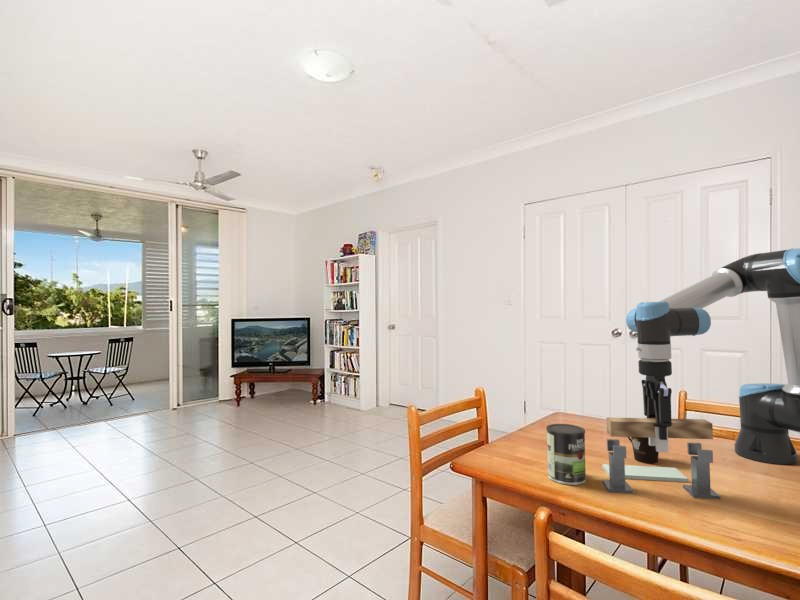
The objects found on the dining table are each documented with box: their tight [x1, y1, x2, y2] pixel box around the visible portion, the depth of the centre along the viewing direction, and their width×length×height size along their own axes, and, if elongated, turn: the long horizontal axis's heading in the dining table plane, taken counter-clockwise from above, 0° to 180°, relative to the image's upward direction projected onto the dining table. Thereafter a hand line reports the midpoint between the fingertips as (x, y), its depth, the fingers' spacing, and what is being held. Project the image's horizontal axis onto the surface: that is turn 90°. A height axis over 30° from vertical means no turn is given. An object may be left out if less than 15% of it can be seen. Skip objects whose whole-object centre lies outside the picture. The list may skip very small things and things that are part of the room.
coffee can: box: [545, 423, 587, 486], centre depth 120 cm, size 10×10×14 cm
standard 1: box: [601, 438, 634, 495], centre depth 113 cm, size 6×6×12 cm
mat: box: [601, 463, 689, 483], centre depth 121 cm, size 20×8×1 cm, turn 79°
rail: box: [605, 417, 714, 440], centre depth 111 cm, size 24×4×4 cm, turn 79°
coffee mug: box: [627, 437, 660, 465], centre depth 134 cm, size 12×9×10 cm
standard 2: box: [682, 442, 722, 500], centre depth 109 cm, size 6×6×12 cm
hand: (658, 448), depth 111 cm, fingers closed on rail, 4 cm apart
